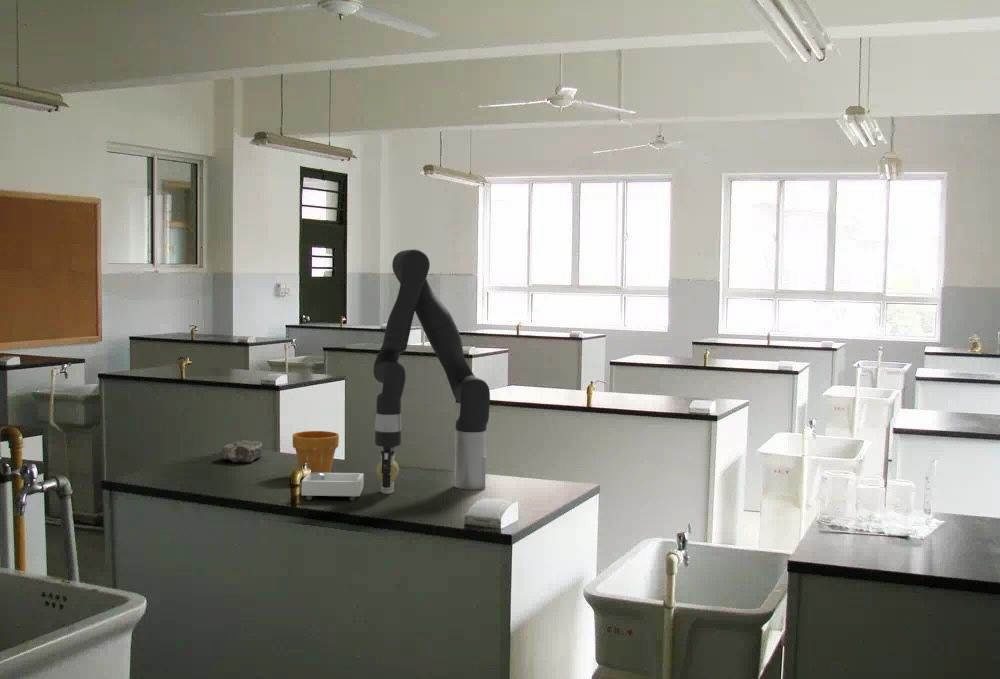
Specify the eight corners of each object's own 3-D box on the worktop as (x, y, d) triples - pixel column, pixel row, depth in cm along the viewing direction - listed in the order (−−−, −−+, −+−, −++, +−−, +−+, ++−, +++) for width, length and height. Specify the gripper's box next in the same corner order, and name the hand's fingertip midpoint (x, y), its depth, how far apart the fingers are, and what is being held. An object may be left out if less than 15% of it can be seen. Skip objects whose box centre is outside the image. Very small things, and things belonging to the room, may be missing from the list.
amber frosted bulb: (394, 496, 287) (395, 461, 286) (373, 494, 288) (373, 460, 287) (401, 491, 293) (401, 457, 292) (380, 490, 294) (380, 456, 293)
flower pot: (310, 469, 322) (310, 429, 321) (347, 474, 315) (347, 433, 315) (282, 477, 309) (283, 435, 308) (320, 482, 303) (320, 439, 302)
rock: (238, 455, 344) (214, 464, 330) (237, 436, 343) (213, 445, 329) (271, 457, 340) (248, 466, 326) (270, 438, 340) (247, 446, 325)
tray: (363, 492, 291) (363, 473, 291) (359, 501, 279) (359, 482, 279) (308, 491, 290) (308, 472, 290) (301, 500, 278) (301, 481, 278)
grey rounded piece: (325, 486, 286) (325, 472, 286) (323, 489, 282) (323, 475, 282) (311, 485, 286) (311, 472, 286) (309, 488, 282) (309, 474, 282)
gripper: (399, 433, 282) (398, 489, 283) (402, 425, 296) (401, 479, 297) (373, 432, 282) (372, 489, 283) (377, 424, 296) (376, 478, 297)
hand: (387, 484), depth 290 cm, fingers open, 8 cm apart
